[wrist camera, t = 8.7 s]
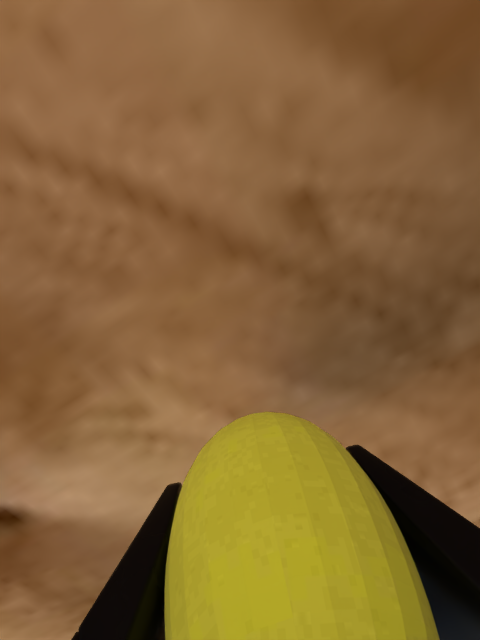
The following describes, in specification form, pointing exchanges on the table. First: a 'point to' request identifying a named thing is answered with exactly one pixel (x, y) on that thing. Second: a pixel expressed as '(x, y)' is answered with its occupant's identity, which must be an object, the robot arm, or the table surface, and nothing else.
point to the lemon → (287, 543)
